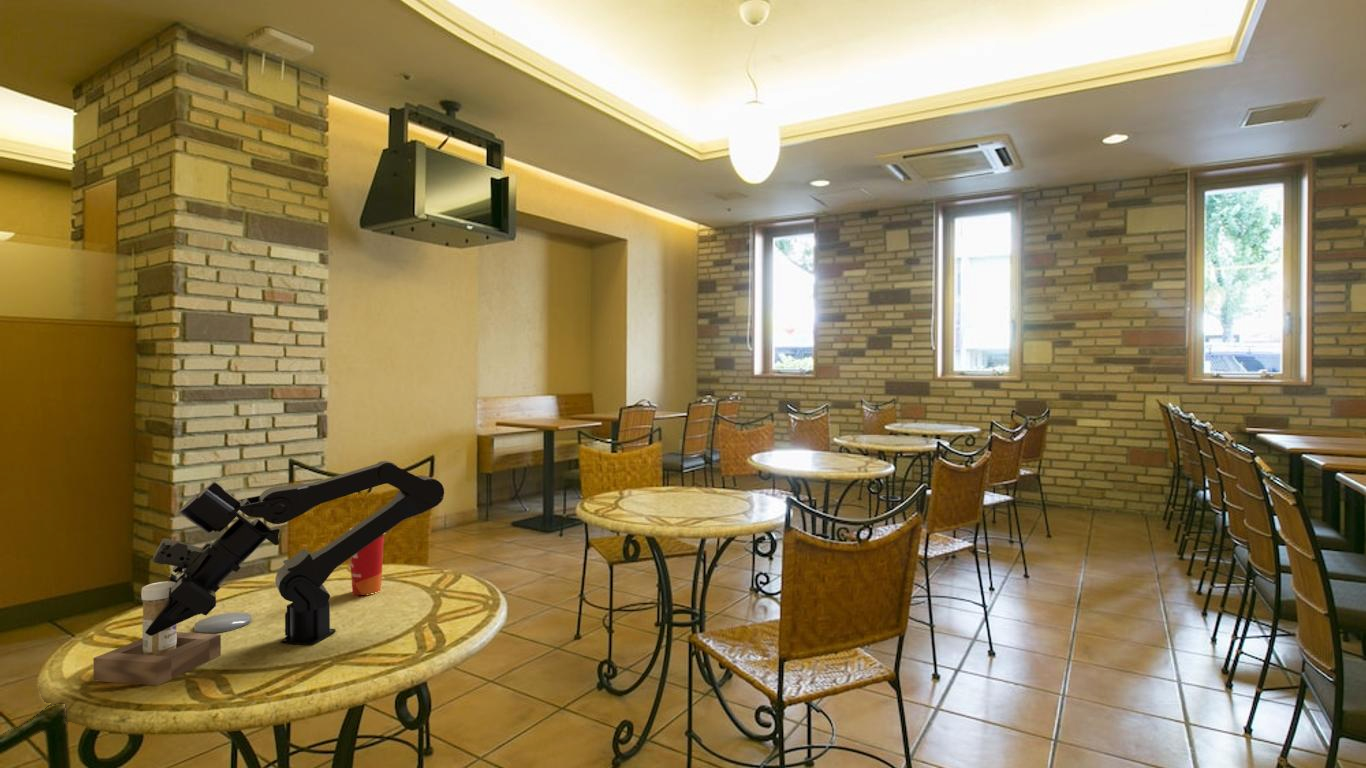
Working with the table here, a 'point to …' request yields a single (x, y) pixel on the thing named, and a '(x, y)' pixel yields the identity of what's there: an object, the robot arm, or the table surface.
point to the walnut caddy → (156, 660)
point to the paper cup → (367, 568)
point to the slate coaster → (223, 622)
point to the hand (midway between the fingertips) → (148, 628)
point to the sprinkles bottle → (153, 604)
